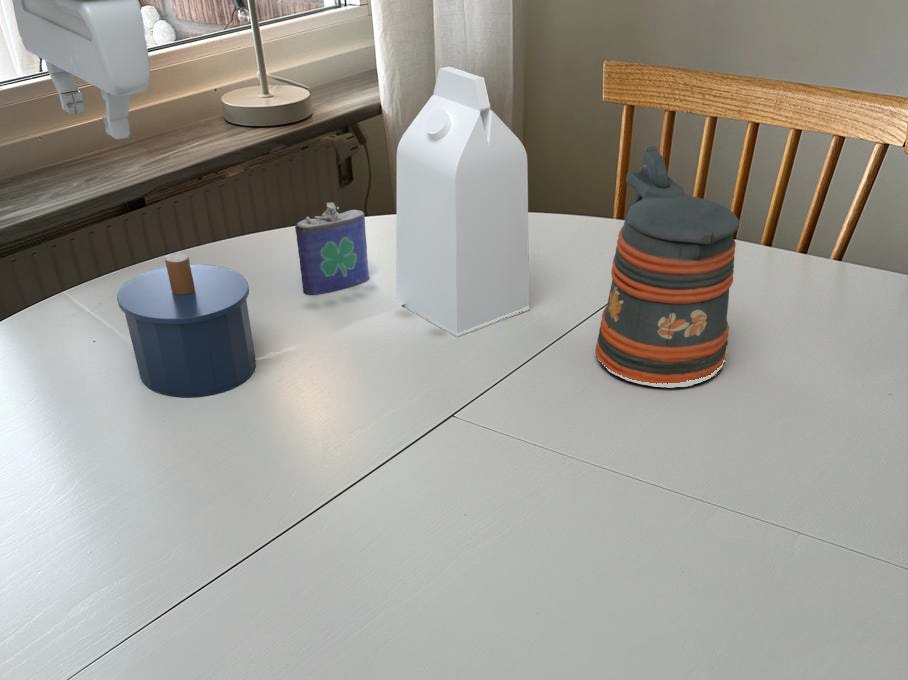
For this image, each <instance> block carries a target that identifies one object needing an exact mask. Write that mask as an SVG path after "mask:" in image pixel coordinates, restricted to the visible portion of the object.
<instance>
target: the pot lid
mask: <svg viewBox="0 0 908 680" xmlns="http://www.w3.org/2000/svg"><path fill="white" fill-rule="evenodd" d="M164 261H165V266H164V267H160V268H155V269H152V270H149V271H146V272H143V273H141V274H138V275H136V276H134V277H132V278H131V279H129V280H128V281H126V282H125V283H123V285H122V286H121V287H120V288H119V290H118V291H117V293H116V301H117V304H118V307H119V309H120V310H121V312H122V313H124V315H125V314H127V315H128V316H130V317H132V318H135V319H137V320H141V321H145V322H149V323H157V324H186V323H194V322H200V321H205V320H209V319H213V318H216V317H219V316H222V315H225V314H227V313H229V312H231V311H233V310H235V309H236V308H238V307H239V306H240V305H242V304H243V303H244V302H245V300H246V301H247V299H248V297H249V295H250V287H249V283H248V281H247V279H246V278H245V277H244V276H243V275H242V274H241V273H239V272H237V271H235V270H232V269H231V268H227V267H224V266H219V265H211V264H203V263H202V264H201V263H200V264H199V263H198V264H197V263H196V264H195V263H194V264H192V263H191V261H190V257H189V255H188V254H186V253H183V252H177V253H176V252H175V253H171V254H168V255H166V256H165V257H164Z"/></svg>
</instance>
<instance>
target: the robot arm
mask: <svg viewBox="0 0 908 680" xmlns="http://www.w3.org/2000/svg"><path fill="white" fill-rule="evenodd" d="M11 1H12V7H13V12H14V16H15V21H16V25H17V30H18V34H19V38H20V40H21V42H22V44H23V46H24V48H25V50H26V52H27V53H30V54H31V55H33V56H36V57H38V58H40V59H41V60H44V61H45V65H46V69H47V72H48V75H49V77H50V79H51V81H52V83H53V85H54V87H55V89H56V91H57V93H58V97H59V100H60V105H61V108H62V110H63V111H64V112H67V113H68V114H70V115H77V114H83V113H84V112H85V111H86V105H85V103H84V96H83V92H81V91H80V90H79V88H78V85H77V82H76V79H75V77H76V78H78V79H80V80H82V81H83V82H86V83H88V84H90V85H92V86H94V87H95V88H98V90H99V89H100V95H101V98H102V100H103V101H105V115H103V116H102V121H103V125H104V127H105V128H104V130H105V133H106V135H107V136H109V137H111V138H112V139H114V140H122V139H128V138H129V137H130V135H131V130H130V129H131V128H130V124H129V119H128V117H129V111H130V105H131V96H132V95H137V94H141V93H145V92H147V91H148V89H149V87H150V86H149V85H150V81H151V65H150V57H149V50H148V49H149V48H148V42H147V36H146V30H145V24H144V23H145V22H144V18H143V14H142V9H141V6H140V4H139V1H138V0H11Z"/></svg>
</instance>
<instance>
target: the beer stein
mask: <svg viewBox="0 0 908 680" xmlns="http://www.w3.org/2000/svg"><path fill="white" fill-rule="evenodd" d="M640 167H641V168H640V171H628V172H627V173H626V179H625V183H626V184H627V185H628V186H630V187H631V188H632V189H633V190H634V191H636V194H635V197H634V201H633V204H632V205H631V206H630V207H629V209H628V211H627V213H626V215H625V219H624V222H623V225H622V227H621V228H620V230H619V232H618V235H617V241H616V247H615V253H614V255H613V257H612V266H611V269H610V271H611V285H610V290H609V295H608V299H607V303H606V304H607V305H606V306H605V307H604V309H603V311H602V313H601V314H602V315H601V321H600V326H599V330H598V331H599V332H598V337H597V340H596V345H595V355H596V354H597V355H596V357H597V356H598V358H599V360H600V361H601V363H603V365H605V367H607V368H608V369H610V370H611V371H613V372H615V373H617V374H619V375H622V376H623V377H627V378H629V379H632V380H637V381H641V382H649V383H656V384H657V383H662V384H663V383H667V384H668V383H680V382H686V381H687V380H688V381H689V380H695V379H699V378H701V377H702V378H703V377H706V376H708V375H711V373H713V372H714V371H715V370H717V368H719V367H720V366H721V365H722V363H723V360H724V359H725V356H726V352H727V348H728V343H729V342H728V341H729V340H728V338H729V332H730V331H729V330H730V327H729V322H728V320H727V319H728V310H729V309H728V308H729V298H730V288H731V287H732V285H733V283H734V269H735V254H736V241H735V238H734V234H735V233H736V232H737V231H738V229H739V228H740V220H739V218H738V216H737V215H736V214H735V213H734V212H733V211H732V210H730V209H729V208H728V207H726V206H724V205H722V204H720V203H718V202H716V201H712V200H709V199H705V198H701V197H697V196H693V195H690V194H689V195H688V194H685V191H684V188H683V186H681V185H680V184H678V183H676V182H675V181H674V180H673V178H671V177H670V176H669V175H668V170H667V167H666V163H665V161H664V158H663V156H662V154H661V153H660V152H659V151H658V149H657V147H656V146H655V145H650V146H646V147H645V148H644V150H643V155H642V161H641V166H640ZM598 358H597V359H598ZM599 360H598V361H599ZM601 363H600V364H601ZM665 389H667V388H665Z"/></svg>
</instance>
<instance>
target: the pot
mask: <svg viewBox="0 0 908 680" xmlns="http://www.w3.org/2000/svg"><path fill="white" fill-rule="evenodd" d="M124 315H125V320H126V323H127V328H128V333H129V336H130V340H131V343H132V344H131V345H132V349H133V353H134V357H135V362H136V366H137V370H138V373H139V378H140V380H141V382H142V383H143V385H144V386H145V387H146V388H148V389H149V390H151V391H153V392H155V393H157V394H160V395H164V396H168V397H176V398H200V397H207V396H212V395H217V394H221V393H224V392H227V391H229V390H232V389H234V388H236V387H239V386H241V385H242V384H243V383H246V381H248V379H250V378H251V376H252V375H253V373H254V372H255V369H256V362H257V360H256V354H255V347H254V341H253V334H252V327H251V321H250V314H249V308H248V302H247V299H246V300H245V302H244V303H243V304H242V305H240V306H239V307H238V308H236V309H235V310H233V311H231V312H229V313H227V314H225V315H222V316H219V317H216V318H213V319H209V320H205V321H200V322H194V323H186V324H157V323H149V322H145V321H141V320H137V319H135V318H132V317H130V316H128V315H127V314H125V313H124Z"/></svg>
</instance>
